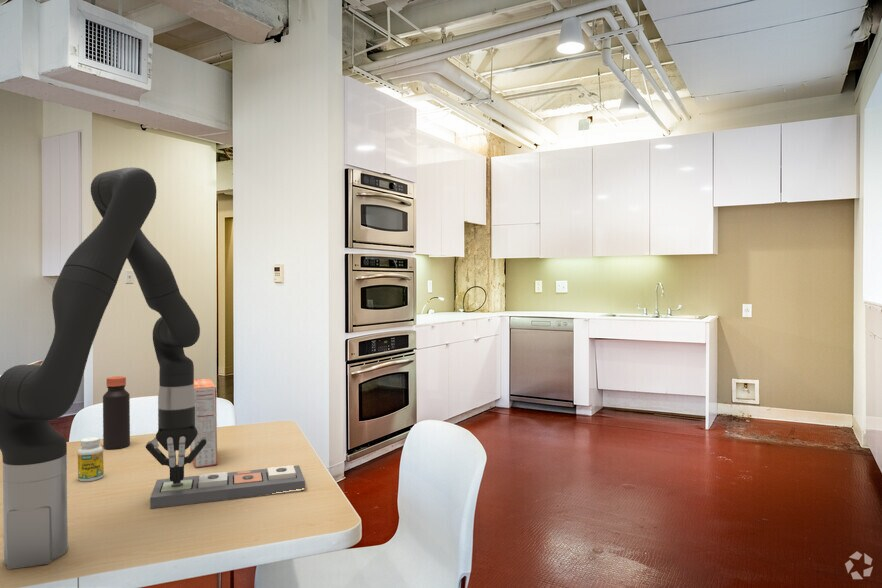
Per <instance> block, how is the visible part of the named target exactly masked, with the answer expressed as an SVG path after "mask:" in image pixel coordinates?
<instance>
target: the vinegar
mask: <svg viewBox="0 0 882 588" xmlns="http://www.w3.org/2000/svg"><path fill="white" fill-rule="evenodd" d="M126 381H127V378H126V376H123V375H122V376H110V377H106V388H107V391H106V392H105V393H104V394H103V396H102V428H103V429H102V432H103V434H102V440H103V445H102V448H103V449H106V450H119V449H125V448H127V447H129V446H130V445H131V420H130V419H131V417H130V411H131V407H130V406H131V403H130V402H131V401H130V399H131V398H130V393H129V392H128V391H127V390H126V389H125V387H126V386H127V382H126Z"/></svg>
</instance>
